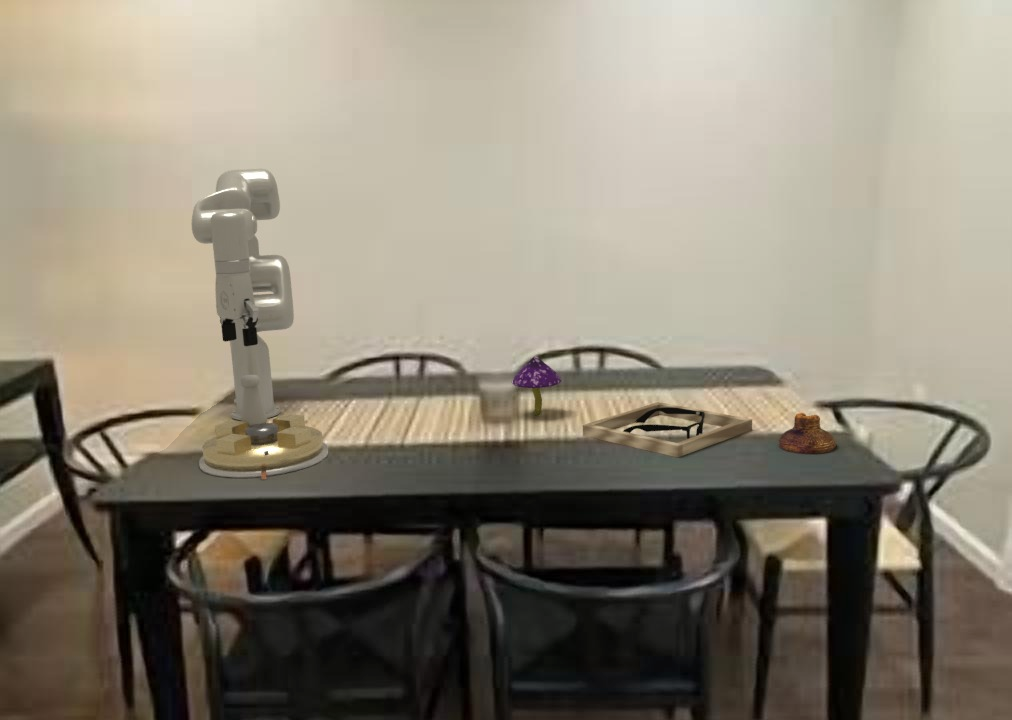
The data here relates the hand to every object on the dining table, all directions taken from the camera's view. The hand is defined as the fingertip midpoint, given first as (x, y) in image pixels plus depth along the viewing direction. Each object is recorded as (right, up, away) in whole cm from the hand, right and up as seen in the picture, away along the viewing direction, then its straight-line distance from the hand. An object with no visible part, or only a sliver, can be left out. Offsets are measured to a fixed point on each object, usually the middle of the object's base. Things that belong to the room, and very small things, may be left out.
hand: (240, 342), depth 228 cm
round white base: (+6, -26, -3) cm, 27 cm away
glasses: (+96, -21, +3) cm, 99 cm away
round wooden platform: (+6, -25, -3) cm, 26 cm away
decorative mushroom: (+68, -18, +23) cm, 74 cm away
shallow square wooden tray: (+97, -21, +2) cm, 99 cm away
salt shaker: (+2, -20, +5) cm, 21 cm away
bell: (+125, -23, -13) cm, 127 cm away
